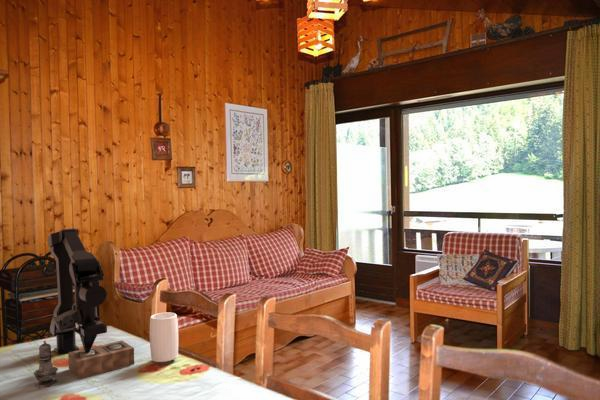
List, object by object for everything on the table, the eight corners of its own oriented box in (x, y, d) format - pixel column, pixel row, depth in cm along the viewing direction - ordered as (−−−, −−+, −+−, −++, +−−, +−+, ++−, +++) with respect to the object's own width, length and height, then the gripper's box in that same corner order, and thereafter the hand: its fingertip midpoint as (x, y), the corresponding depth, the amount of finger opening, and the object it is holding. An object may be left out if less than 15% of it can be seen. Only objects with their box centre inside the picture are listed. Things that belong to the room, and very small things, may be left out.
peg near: (78, 367, 136) (78, 352, 136) (92, 364, 139) (92, 349, 139) (82, 371, 133) (82, 355, 133) (97, 367, 136) (96, 352, 136)
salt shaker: (47, 388, 124) (46, 344, 124) (28, 387, 125) (27, 343, 125) (62, 379, 130) (61, 337, 129) (44, 378, 131) (43, 336, 131)
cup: (150, 367, 137) (149, 320, 137) (150, 358, 145) (148, 313, 145) (179, 363, 140) (178, 317, 140) (178, 354, 148) (176, 310, 148)
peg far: (106, 361, 142) (106, 346, 142) (119, 358, 144) (119, 343, 144) (110, 364, 139) (110, 349, 139) (124, 361, 141) (123, 346, 141)
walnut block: (78, 379, 130) (77, 360, 130) (68, 369, 137) (68, 351, 137) (134, 364, 140) (133, 347, 140) (122, 355, 148) (122, 339, 148)
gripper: (47, 299, 138) (49, 351, 138) (64, 310, 124) (66, 368, 124) (87, 293, 145) (88, 342, 145) (106, 303, 131) (108, 357, 131)
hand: (87, 352), depth 136 cm, fingers closed, pressing on peg near
